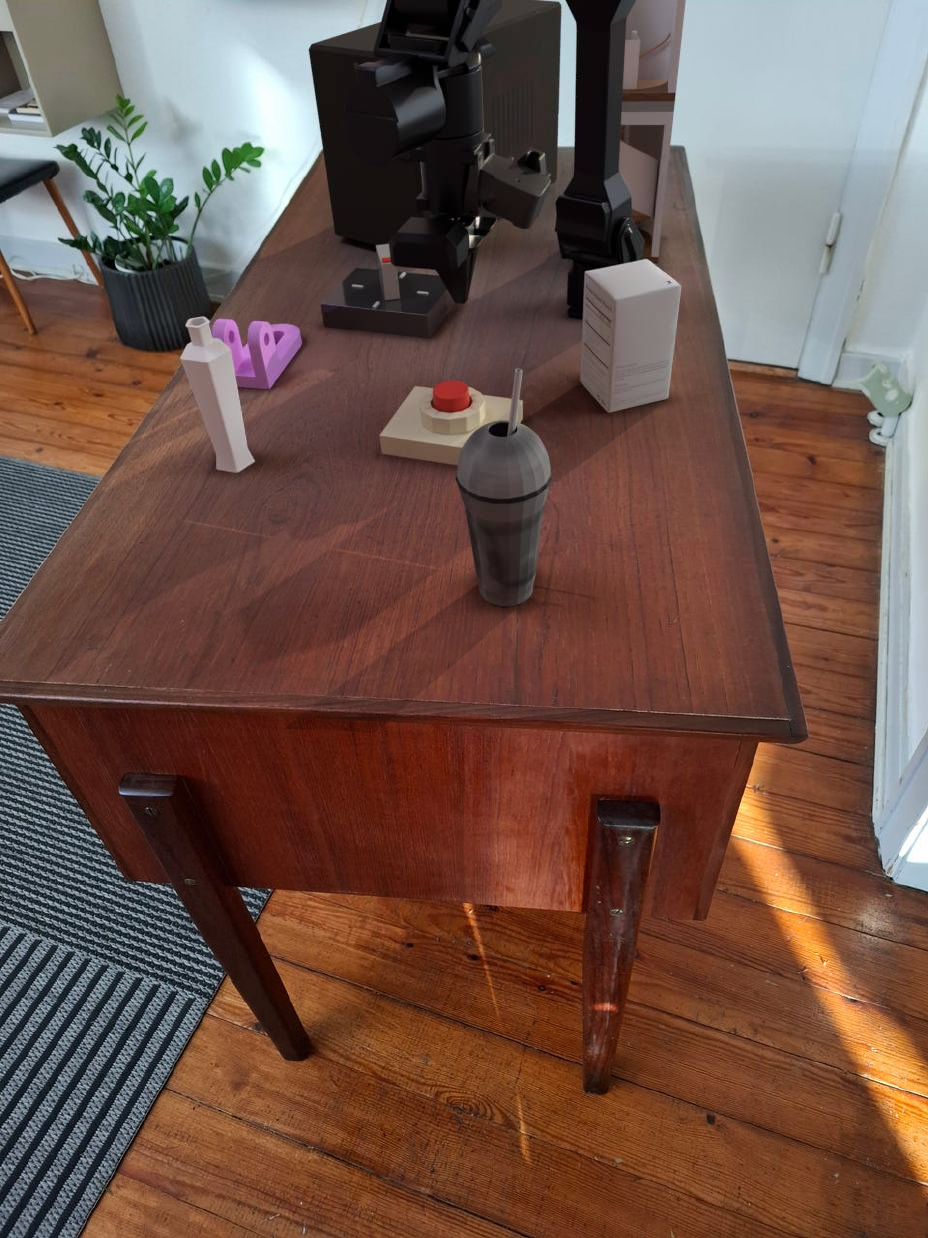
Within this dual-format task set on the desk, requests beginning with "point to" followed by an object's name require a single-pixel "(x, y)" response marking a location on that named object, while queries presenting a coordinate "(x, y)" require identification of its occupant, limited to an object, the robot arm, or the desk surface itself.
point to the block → (440, 425)
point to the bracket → (259, 350)
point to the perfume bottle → (216, 395)
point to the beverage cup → (504, 503)
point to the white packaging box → (628, 334)
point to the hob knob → (387, 273)
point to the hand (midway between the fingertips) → (461, 302)
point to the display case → (649, 111)
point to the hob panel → (388, 304)
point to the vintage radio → (512, 114)
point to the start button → (451, 396)
